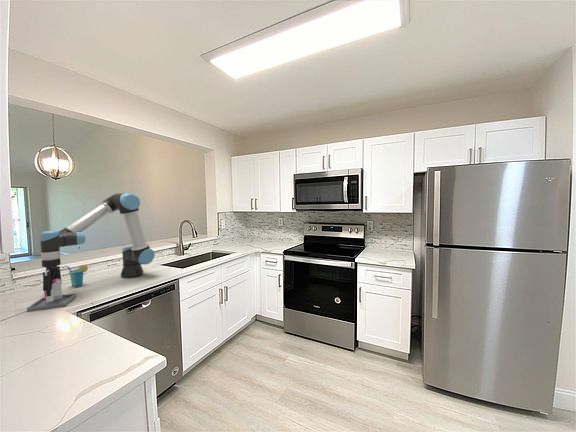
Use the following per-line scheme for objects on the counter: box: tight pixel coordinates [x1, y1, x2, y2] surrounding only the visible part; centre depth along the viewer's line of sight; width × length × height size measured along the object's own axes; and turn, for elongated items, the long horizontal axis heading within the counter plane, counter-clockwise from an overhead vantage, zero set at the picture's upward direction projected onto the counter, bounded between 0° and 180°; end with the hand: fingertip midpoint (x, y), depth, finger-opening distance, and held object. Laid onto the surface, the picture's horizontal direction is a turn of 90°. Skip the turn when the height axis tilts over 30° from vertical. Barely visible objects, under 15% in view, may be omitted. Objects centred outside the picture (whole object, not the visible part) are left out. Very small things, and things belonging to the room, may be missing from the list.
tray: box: [26, 292, 78, 313], centre depth 137 cm, size 16×16×2 cm
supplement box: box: [43, 278, 63, 303], centre depth 136 cm, size 6×6×12 cm
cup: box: [60, 264, 89, 288], centre depth 165 cm, size 14×8×15 cm, turn 129°
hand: (53, 298), depth 137 cm, fingers closed on supplement box, 8 cm apart
